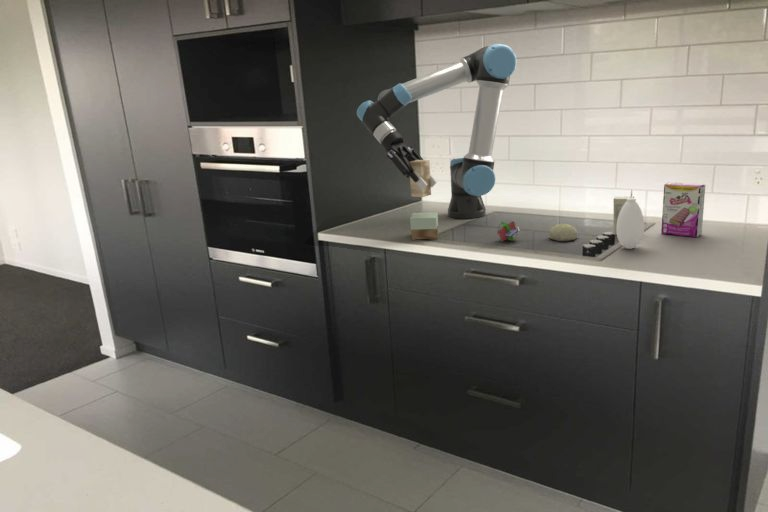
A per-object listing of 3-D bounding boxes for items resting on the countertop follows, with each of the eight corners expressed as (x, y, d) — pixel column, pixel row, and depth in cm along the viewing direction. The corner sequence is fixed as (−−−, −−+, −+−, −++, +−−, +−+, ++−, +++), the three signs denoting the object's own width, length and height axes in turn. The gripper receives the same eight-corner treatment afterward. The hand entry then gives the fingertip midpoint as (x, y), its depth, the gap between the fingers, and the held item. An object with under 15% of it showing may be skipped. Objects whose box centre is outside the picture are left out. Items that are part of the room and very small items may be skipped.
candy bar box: (660, 234, 204) (663, 184, 199) (666, 231, 207) (668, 181, 203) (697, 238, 196) (700, 186, 192) (702, 234, 200) (706, 183, 195)
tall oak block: (419, 193, 222) (417, 159, 218) (431, 194, 219) (429, 160, 215) (411, 196, 218) (409, 161, 215) (422, 197, 215) (420, 162, 212)
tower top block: (438, 223, 224) (437, 212, 223) (436, 228, 216) (436, 217, 215) (413, 223, 226) (412, 213, 225) (410, 229, 217) (410, 218, 216)
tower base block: (438, 233, 226) (437, 222, 225) (437, 239, 217) (437, 228, 216) (413, 234, 227) (412, 224, 226) (411, 241, 218) (411, 229, 217)
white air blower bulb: (640, 252, 185) (643, 192, 180) (613, 250, 189) (614, 191, 184) (645, 246, 191) (648, 187, 187) (618, 244, 195) (620, 186, 191)
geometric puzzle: (500, 239, 203) (512, 217, 203) (488, 235, 209) (500, 214, 209) (515, 249, 206) (527, 228, 206) (502, 244, 212) (514, 224, 212)
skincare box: (634, 232, 208) (635, 196, 204) (633, 235, 204) (634, 198, 201) (613, 231, 210) (614, 196, 207) (612, 234, 207) (613, 198, 203)
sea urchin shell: (578, 229, 210) (578, 216, 203) (577, 249, 206) (576, 237, 199) (550, 229, 213) (549, 216, 206) (548, 249, 209) (547, 237, 202)
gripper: (399, 142, 230) (438, 188, 224) (367, 148, 216) (408, 198, 211) (409, 127, 225) (450, 174, 219) (377, 132, 212) (420, 183, 206)
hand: (429, 185), depth 215 cm, fingers closed on tall oak block, 5 cm apart
